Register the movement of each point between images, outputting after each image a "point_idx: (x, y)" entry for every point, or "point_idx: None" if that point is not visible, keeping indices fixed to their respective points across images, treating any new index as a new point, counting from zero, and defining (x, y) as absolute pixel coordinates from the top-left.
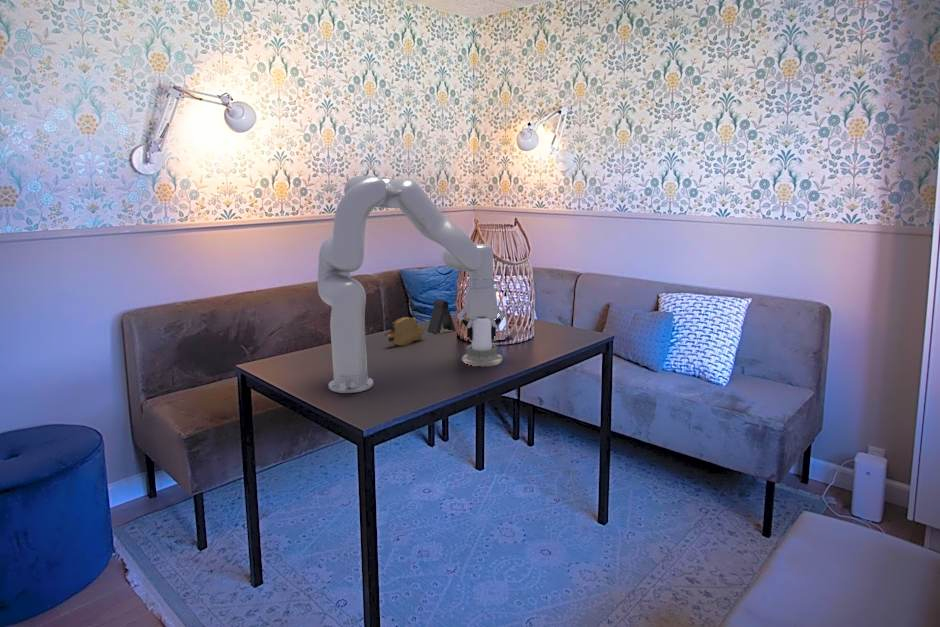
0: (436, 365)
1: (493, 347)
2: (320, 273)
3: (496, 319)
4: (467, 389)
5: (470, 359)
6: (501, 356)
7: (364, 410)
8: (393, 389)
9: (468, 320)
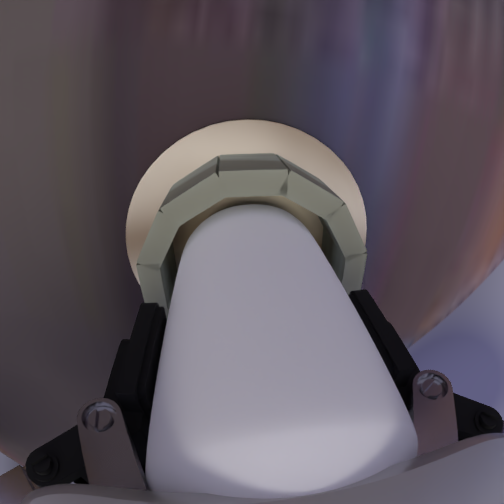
0: (34, 291)
1: (340, 250)
2: None
3: (464, 437)
4: None
5: None
6: (364, 236)
7: None
8: (29, 429)
9: (101, 475)
